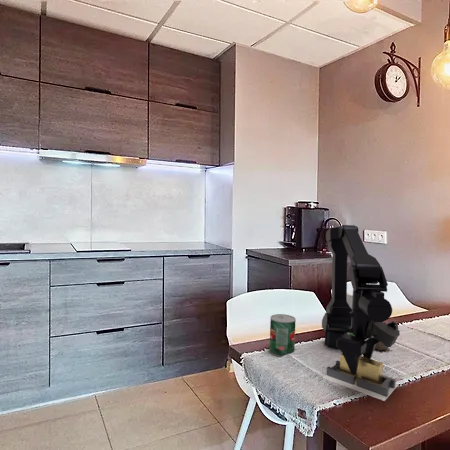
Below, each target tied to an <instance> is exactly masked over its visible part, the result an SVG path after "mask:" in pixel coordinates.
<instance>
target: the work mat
mask: <svg viewBox="0 0 450 450" xmlns="http://www.w3.org/2000/svg"><path fill="white" fill-rule="evenodd" d="M321 378H322V379H324V380H327V381H330V382H332V383H335V384H337V385H340V386H343V387H345V388H347V389H351V390H353V391H357V392H360V393H361V394H365V395H367V396H370V397H372V398H376V399H378V400H380V401H384V402H386V400H387V399H388V398H389V396H390V395H391V394H392V393H393V392H394V390H396V389H397V387H398V386H399V385H400V384H399V383H396V384H395V388H390V389H389V390H388V396H387V397H385V396H383V395H380V394H377V393H374V392H372V391H369V390H366V389H363V388H361V387H358V386H357V383H356V382H355V384H354V385H352V384H350V383H347V382H344V381H341V380H339V379H336V378H333V377H330V376H328V375H326V374H325V375H323V376H322V377H321Z"/></svg>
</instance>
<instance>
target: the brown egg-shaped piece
mask: <svg viewBox="0 0 450 450" xmlns="http://www.w3.org/2000/svg"><path fill="white" fill-rule="evenodd" d="M384 322H385V321H384ZM384 322H383V323H384ZM388 348H389V347H387V346H385V345H384V344H383V343H382V342H378V343H377V344H376V346H375V348H374V350H376V349H377V350H376V351H380V350H383V351H385V350H387V349H388Z"/></svg>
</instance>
